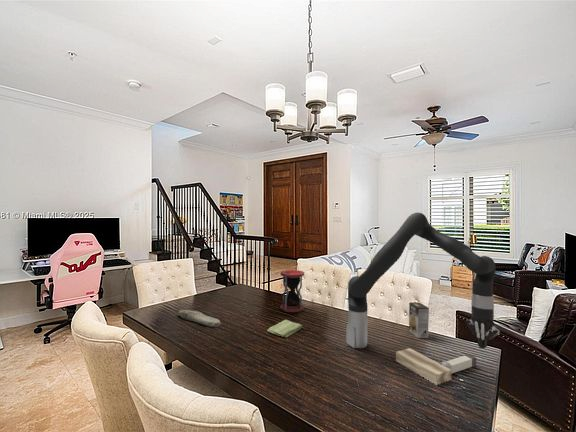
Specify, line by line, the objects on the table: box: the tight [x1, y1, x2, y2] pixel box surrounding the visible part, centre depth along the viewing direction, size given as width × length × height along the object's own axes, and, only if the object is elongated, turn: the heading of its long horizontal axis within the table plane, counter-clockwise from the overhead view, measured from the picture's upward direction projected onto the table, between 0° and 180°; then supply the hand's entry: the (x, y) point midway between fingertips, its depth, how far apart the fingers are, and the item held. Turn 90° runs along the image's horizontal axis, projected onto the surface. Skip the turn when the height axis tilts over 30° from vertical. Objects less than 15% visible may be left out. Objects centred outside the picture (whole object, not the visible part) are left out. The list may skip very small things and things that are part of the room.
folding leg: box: [441, 353, 477, 375], centre depth 119 cm, size 18×4×4 cm, turn 115°
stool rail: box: [395, 348, 452, 386], centre depth 118 cm, size 8×20×4 cm, turn 25°
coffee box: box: [408, 301, 430, 339], centre depth 154 cm, size 9×6×16 cm
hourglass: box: [279, 269, 305, 313], centre depth 195 cm, size 16×16×25 cm
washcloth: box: [266, 319, 303, 339], centre depth 158 cm, size 13×18×3 cm
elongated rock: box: [178, 309, 222, 328], centre depth 172 cm, size 35×5×10 cm
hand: (482, 347), depth 116 cm, fingers closed
